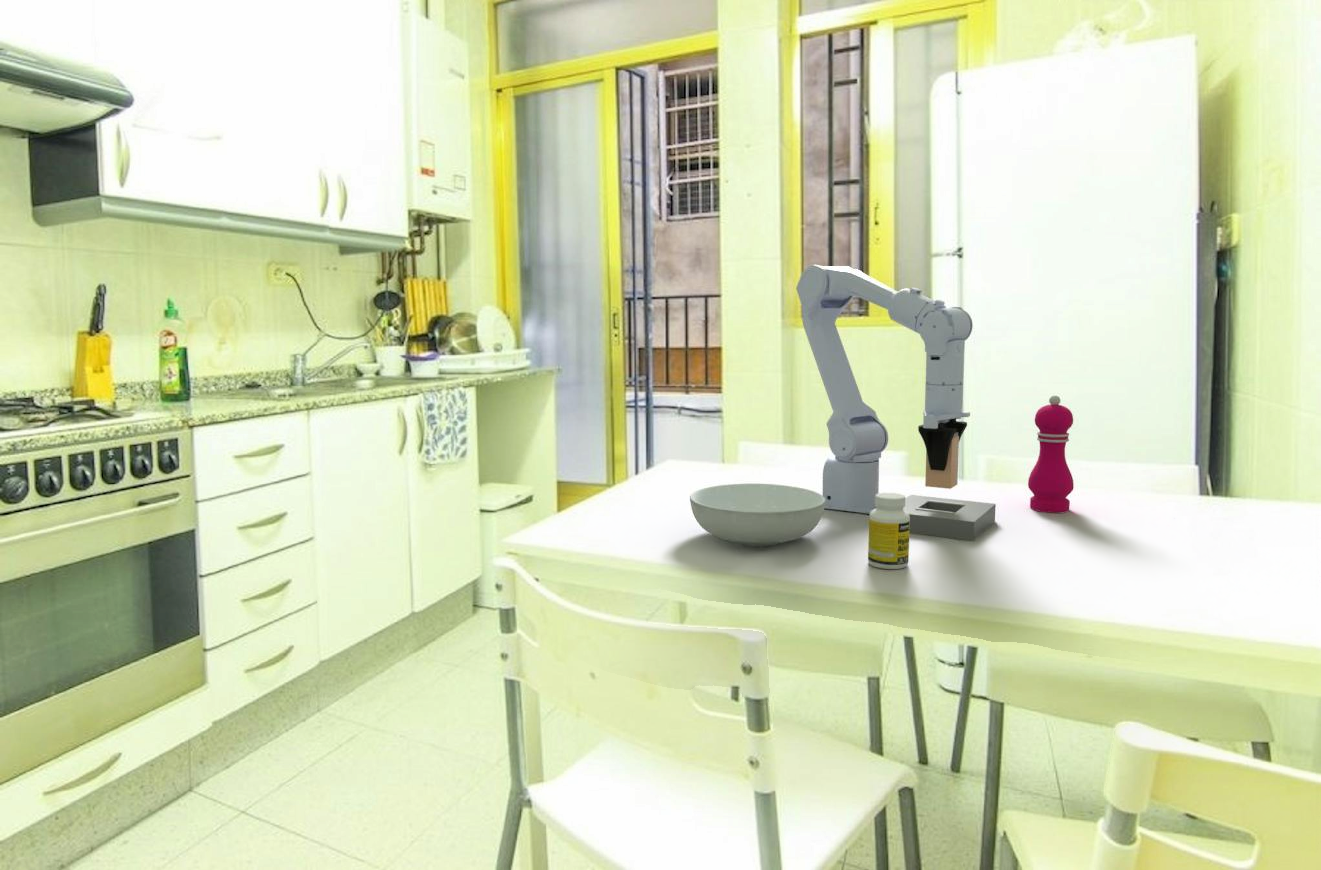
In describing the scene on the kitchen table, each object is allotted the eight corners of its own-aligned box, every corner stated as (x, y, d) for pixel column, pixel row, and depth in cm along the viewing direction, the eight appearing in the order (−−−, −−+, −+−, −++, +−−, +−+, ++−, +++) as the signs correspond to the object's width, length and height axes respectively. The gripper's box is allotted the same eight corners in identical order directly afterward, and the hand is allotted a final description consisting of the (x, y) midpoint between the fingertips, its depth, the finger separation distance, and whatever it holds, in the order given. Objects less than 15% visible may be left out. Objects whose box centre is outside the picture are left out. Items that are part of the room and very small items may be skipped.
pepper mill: (1027, 511, 141) (1032, 397, 138) (1026, 503, 147) (1031, 393, 144) (1074, 515, 138) (1080, 397, 135) (1070, 505, 144) (1076, 394, 142)
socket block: (883, 529, 131) (883, 509, 131) (910, 511, 142) (911, 493, 142) (973, 541, 123) (974, 520, 123) (994, 521, 135) (995, 502, 134)
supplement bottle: (902, 572, 109) (904, 501, 107) (862, 566, 112) (864, 497, 110) (913, 562, 113) (915, 493, 112) (874, 556, 116) (876, 489, 115)
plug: (925, 486, 131) (926, 433, 130) (932, 482, 135) (934, 430, 133) (950, 488, 129) (952, 435, 128) (957, 484, 132) (959, 432, 131)
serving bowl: (812, 563, 114) (813, 515, 113) (672, 551, 121) (671, 506, 120) (834, 526, 133) (834, 486, 132) (712, 518, 141) (711, 479, 140)
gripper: (957, 388, 121) (954, 477, 123) (981, 381, 133) (978, 462, 135) (910, 386, 125) (908, 473, 127) (937, 380, 137) (935, 459, 139)
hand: (941, 467), depth 131 cm, fingers closed on plug, 4 cm apart
